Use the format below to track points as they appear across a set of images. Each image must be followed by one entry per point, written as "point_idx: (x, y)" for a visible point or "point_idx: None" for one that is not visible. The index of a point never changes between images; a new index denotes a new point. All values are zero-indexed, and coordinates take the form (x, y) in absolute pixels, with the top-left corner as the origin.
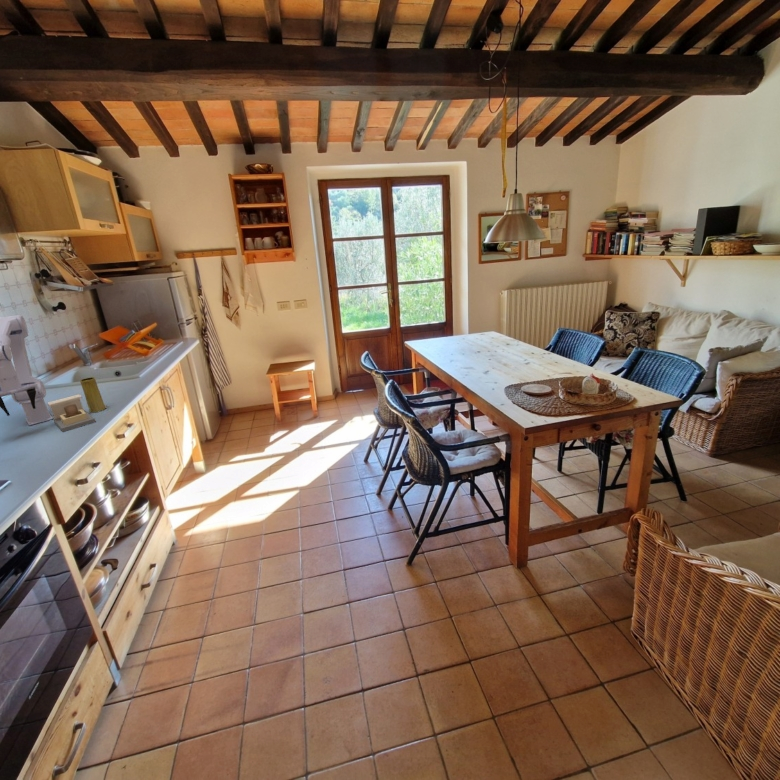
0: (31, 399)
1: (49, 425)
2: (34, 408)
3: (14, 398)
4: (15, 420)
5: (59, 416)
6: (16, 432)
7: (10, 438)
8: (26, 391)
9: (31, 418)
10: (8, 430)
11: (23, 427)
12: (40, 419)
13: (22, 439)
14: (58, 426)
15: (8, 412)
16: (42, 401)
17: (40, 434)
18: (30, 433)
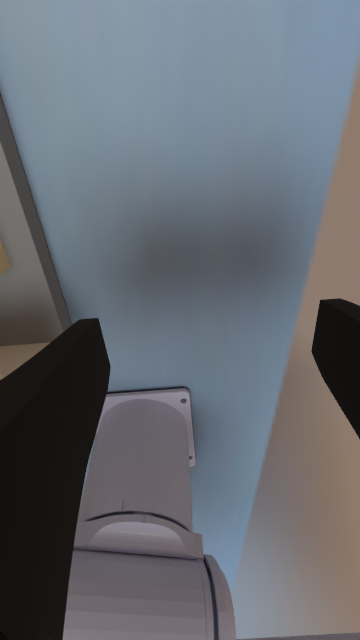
0: (26, 390)
1: (99, 312)
2: (87, 320)
3: (222, 592)
4: (227, 490)
5: (30, 349)
6: (249, 344)
7: (291, 266)
8: (58, 636)
9: (171, 425)
10: (269, 402)
11: (213, 389)
12: (136, 406)
13: (246, 168)
14: (35, 217)
15: (342, 312)
16: (81, 513)
17: (143, 167)
18: (194, 257)
